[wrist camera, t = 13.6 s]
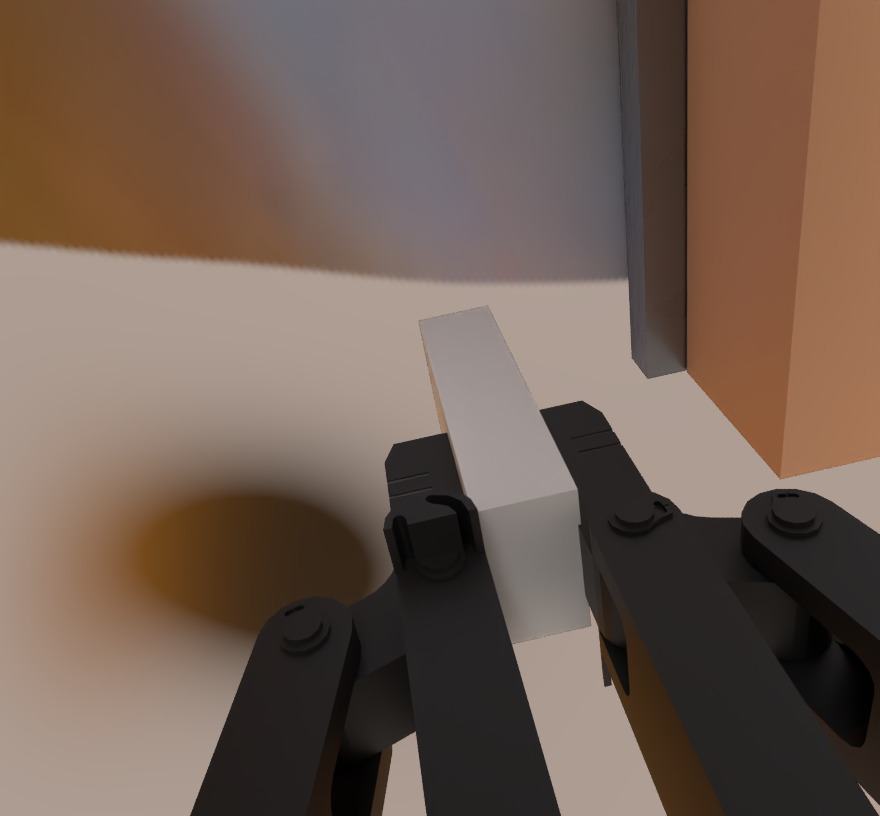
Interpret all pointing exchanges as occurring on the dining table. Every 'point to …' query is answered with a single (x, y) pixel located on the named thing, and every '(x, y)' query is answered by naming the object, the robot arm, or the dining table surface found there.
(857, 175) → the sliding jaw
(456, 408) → the robot arm
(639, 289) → the vise
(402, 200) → the dining table surface
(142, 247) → the dining table surface
